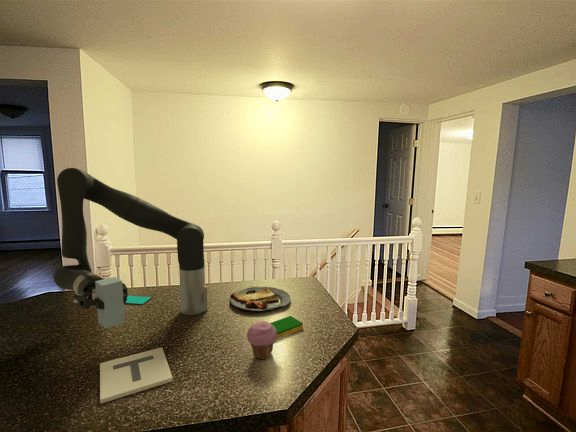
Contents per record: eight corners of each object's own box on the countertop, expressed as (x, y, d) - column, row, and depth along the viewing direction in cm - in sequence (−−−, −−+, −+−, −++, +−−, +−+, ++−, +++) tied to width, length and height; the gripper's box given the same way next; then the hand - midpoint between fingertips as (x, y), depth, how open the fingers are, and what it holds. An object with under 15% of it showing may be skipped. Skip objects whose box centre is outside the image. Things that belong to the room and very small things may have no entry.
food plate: (241, 319, 114) (241, 310, 114) (221, 297, 135) (221, 289, 134) (300, 307, 127) (300, 298, 126) (274, 289, 147) (274, 281, 146)
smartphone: (120, 294, 135) (152, 296, 133) (120, 296, 135) (153, 298, 133) (108, 301, 128) (142, 304, 126) (108, 303, 128) (142, 306, 126)
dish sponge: (258, 333, 106) (258, 326, 106) (290, 321, 114) (290, 315, 114) (270, 342, 100) (270, 335, 100) (303, 329, 109) (303, 323, 109)
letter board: (162, 350, 95) (162, 347, 94) (172, 381, 81) (172, 377, 81) (100, 366, 87) (100, 363, 86) (100, 403, 73) (100, 399, 73)
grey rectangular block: (117, 316, 91) (114, 276, 90) (124, 321, 88) (122, 280, 87) (98, 322, 88) (95, 281, 86) (105, 328, 84) (102, 285, 83)
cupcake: (272, 366, 87) (272, 332, 86) (242, 361, 90) (242, 328, 88) (280, 349, 96) (280, 318, 95) (253, 345, 98) (253, 314, 97)
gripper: (62, 281, 90) (83, 297, 79) (115, 270, 101) (140, 282, 90) (64, 306, 91) (85, 325, 80) (116, 292, 102) (141, 307, 91)
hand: (114, 302), depth 85 cm, fingers closed on grey rectangular block, 5 cm apart
